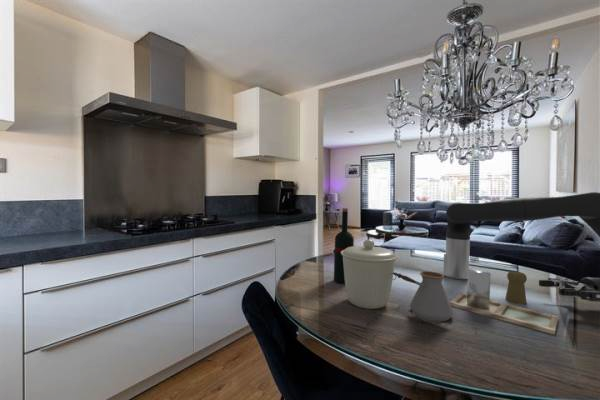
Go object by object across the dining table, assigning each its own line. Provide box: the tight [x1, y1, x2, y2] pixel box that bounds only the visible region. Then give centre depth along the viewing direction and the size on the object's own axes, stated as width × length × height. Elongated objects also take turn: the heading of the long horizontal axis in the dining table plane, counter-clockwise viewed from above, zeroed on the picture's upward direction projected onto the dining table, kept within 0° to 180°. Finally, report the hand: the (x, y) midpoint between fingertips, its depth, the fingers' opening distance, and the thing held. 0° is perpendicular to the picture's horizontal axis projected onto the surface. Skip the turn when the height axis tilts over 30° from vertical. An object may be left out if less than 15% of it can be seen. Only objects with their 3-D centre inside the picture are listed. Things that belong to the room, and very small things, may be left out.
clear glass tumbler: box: [466, 268, 492, 310], centre depth 88 cm, size 6×6×11 cm
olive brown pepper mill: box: [505, 270, 528, 305], centre depth 93 cm, size 6×6×11 cm
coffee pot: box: [390, 270, 454, 325], centre depth 80 cm, size 21×12×15 cm, turn 115°
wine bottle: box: [333, 207, 355, 285], centre depth 113 cm, size 8×10×30 cm
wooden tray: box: [449, 292, 559, 336], centre depth 84 cm, size 25×12×2 cm, turn 44°
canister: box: [341, 238, 398, 310], centre depth 92 cm, size 18×18×21 cm
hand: (549, 287), depth 92 cm, fingers open, 8 cm apart
